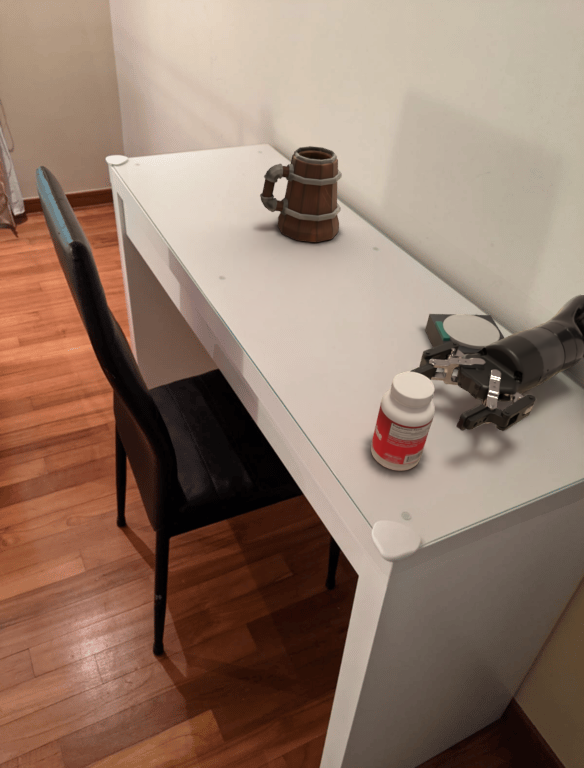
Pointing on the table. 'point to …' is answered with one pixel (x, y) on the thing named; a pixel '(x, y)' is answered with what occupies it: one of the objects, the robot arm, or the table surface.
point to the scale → (463, 331)
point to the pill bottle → (403, 421)
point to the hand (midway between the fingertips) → (434, 401)
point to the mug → (306, 195)
